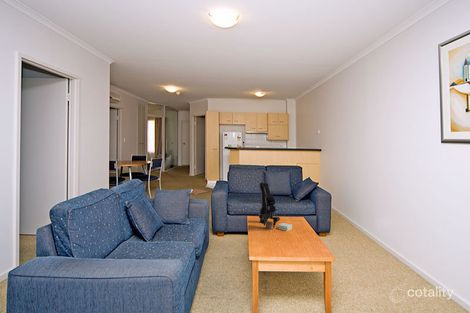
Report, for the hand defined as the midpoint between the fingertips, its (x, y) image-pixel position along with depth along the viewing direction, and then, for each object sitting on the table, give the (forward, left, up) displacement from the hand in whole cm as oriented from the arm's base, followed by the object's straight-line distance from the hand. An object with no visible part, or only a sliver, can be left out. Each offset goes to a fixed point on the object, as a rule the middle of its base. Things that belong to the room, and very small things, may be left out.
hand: (269, 226), depth 236 cm
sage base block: (+12, +8, -2) cm, 15 cm away
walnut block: (0, 0, -1) cm, 1 cm away
